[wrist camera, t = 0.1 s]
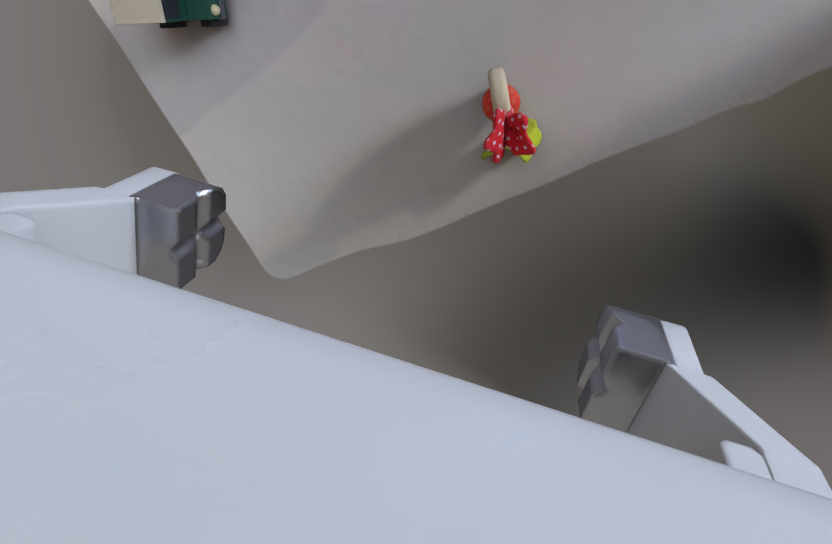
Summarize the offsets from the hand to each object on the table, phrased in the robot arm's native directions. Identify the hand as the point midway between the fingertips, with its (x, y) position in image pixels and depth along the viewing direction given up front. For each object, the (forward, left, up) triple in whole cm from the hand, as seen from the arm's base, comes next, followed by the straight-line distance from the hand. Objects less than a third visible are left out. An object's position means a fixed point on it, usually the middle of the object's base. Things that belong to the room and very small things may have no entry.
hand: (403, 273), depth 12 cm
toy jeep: (+3, -34, -48) cm, 59 cm away
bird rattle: (+6, 0, -48) cm, 49 cm away
